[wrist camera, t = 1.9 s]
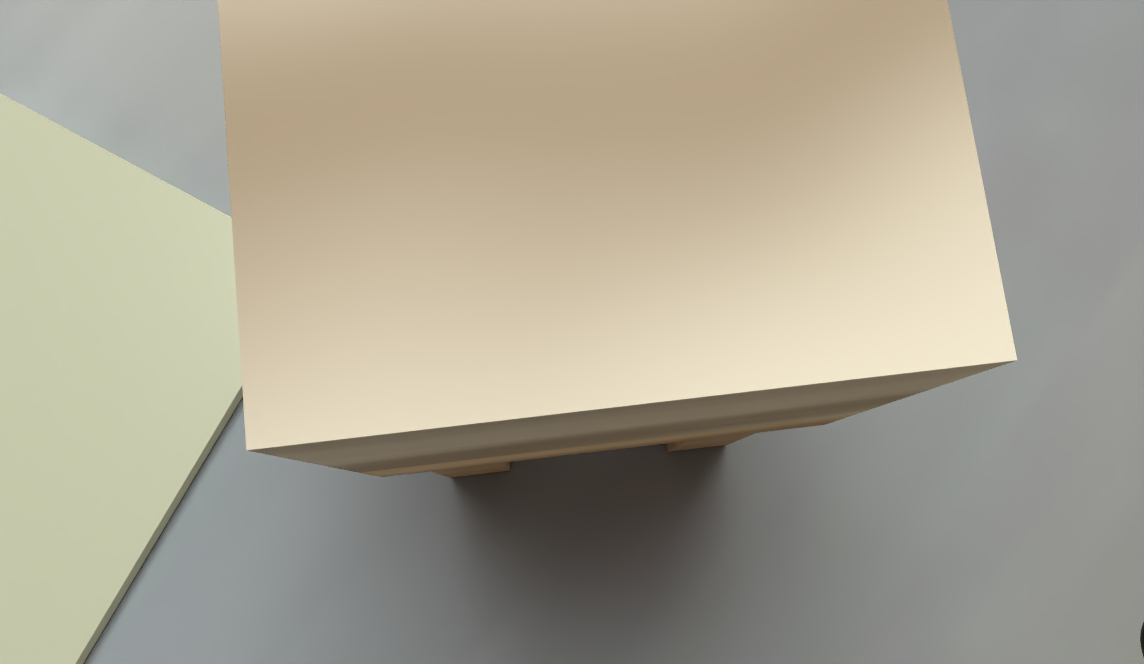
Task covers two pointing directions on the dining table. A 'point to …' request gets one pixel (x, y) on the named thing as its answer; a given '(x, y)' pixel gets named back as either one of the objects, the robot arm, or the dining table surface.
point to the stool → (595, 223)
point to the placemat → (99, 375)
